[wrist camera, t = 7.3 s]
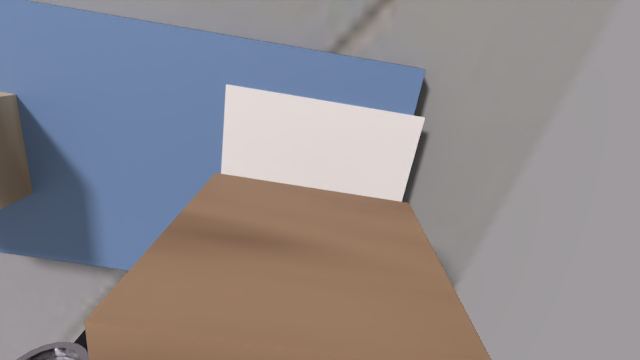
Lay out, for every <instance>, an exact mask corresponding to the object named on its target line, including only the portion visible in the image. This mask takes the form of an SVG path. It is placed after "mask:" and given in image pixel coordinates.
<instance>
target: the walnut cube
mask: <svg viewBox="0 0 640 360" xmlns="http://www.w3.org/2000/svg"><path fill="white" fill-rule="evenodd" d="M84 323H85V332H86V340H87V349H88V357H89V360H491V358H490V356H489V355H488V353H487V351H486V349H485V347H484V345H483V343H482V341H481V339H480V337H479V336H478V333H477V332H476V330H475V328H474V326H473V324H472V322H471V320H470V318H469V316H468V314H467V313H466V311H465V309H464V307H463V305H462V303H461V302H460V299H459V298H458V295H457V294H456V292H455V290H454V288H453V286H452V284H451V282H450V280H449V278H448V276H447V274H446V273H445V271H444V269H443V267H442V265H441V263H440V261H439V259H438V257H437V255H436V253H435V252H434V250H433V248H432V246H431V244H430V242H429V240H428V238H427V236H426V234H425V233H424V231H423V229H422V227H421V225H420V223H419V221H418V219H417V217H416V215H415V213H414V212H413V210H412V208H411V206H410V204H409V203H406V202H400V201H394V200H387V199H381V198H374V197H368V196H361V195H355V194H349V193H342V192H336V191H329V190H323V189H316V188H310V187H304V186H297V185H291V184H284V183H278V182H271V181H265V180H259V179H252V178H246V177H239V176H233V175H227V174H220V173H215V174H214V175H213V176H212V177H211V178H210V180H209V181H208V182H207V183H206V184H205V185H204V186H203V187H202V189H201V190H200V191H199V192H198V193H197V194H196V195H195V197H194V198H193V199H192V200H191V201H190V202H189V203H188V204H187V206H186V207H185V208H184V209H183V210H182V211H181V212H180V213H179V215H178V216H177V217H176V218H175V219H174V220H173V221H172V223H171V224H170V225H169V226H168V227H167V228H166V229H165V230H164V232H163V233H162V234H161V235H160V236H159V237H158V238H157V240H156V241H155V242H154V243H153V244H152V245H151V246H150V247H149V249H148V250H147V251H146V252H145V253H144V254H143V255H142V256H141V258H140V259H139V260H138V261H137V262H136V263H135V264H134V266H133V267H132V268H131V269H130V270H129V271H128V272H127V273H126V275H125V276H124V277H123V278H122V279H121V280H120V281H119V283H118V284H117V285H116V286H115V287H114V288H113V289H112V290H111V292H110V293H109V294H108V295H107V296H106V297H105V298H104V299H103V301H102V302H101V303H100V304H99V305H98V306H97V307H96V309H95V310H94V311H93V312H92V313H91V314H90V315H89V316H88V318H87V319H86V320H85V321H84Z"/></svg>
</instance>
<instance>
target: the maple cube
mask: <svg viewBox="0 0 640 360" xmlns="http://www.w3.org/2000/svg"><path fill="white" fill-rule="evenodd" d="M32 193H33V192H32V186H31V180H30V174H29V168H28V163H27V157H26V151H25V145H24V139H23V133H22V128H21V122H20V116H19V110H18V104H17V98H16V94H11V93H5V92H0V210H1V209H3V208H5V207H7V206H9V205H11V204H13V203H15V202H16V201H18V200H20V199H22V198H24V197H26V196H28V195H30V194H32Z"/></svg>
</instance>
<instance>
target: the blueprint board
mask: <svg viewBox="0 0 640 360" xmlns="http://www.w3.org/2000/svg"><path fill="white" fill-rule="evenodd" d="M425 71H426V70H425V69H421V68H416V67H410V66H405V65H399V64H393V63H387V62H381V61H376V60H370V59H364V58H358V57H352V56H346V55H341V54H335V53H329V52H323V51H317V50H312V49H306V48H300V47H294V46H288V45H283V44H277V43H271V42H265V41H259V40H254V39H248V38H242V37H236V36H230V35H225V34H219V33H213V32H207V31H201V30H196V29H190V28H184V27H178V26H172V25H167V24H161V23H155V22H149V21H143V20H138V19H132V18H126V17H120V16H114V15H109V14H103V13H97V12H91V11H85V10H80V9H74V8H68V7H62V6H56V5H51V4H45V3H39V2H33V1H27V0H0V92H5V93H11V94H16V98H17V104H18V110H19V116H20V122H21V128H22V133H23V139H24V145H25V151H26V157H27V163H28V168H29V174H30V180H31V186H32V192H33V193H32V194H30V195H28V196H26V197H24V198H22V199H20V200H18V201H16V202H15V203H13V204H11V205H9V206H7V207H5V208H3V209H1V210H0V252H4V253H11V254H18V255H24V256H31V257H38V258H45V259H52V260H59V261H66V262H73V263H80V264H87V265H94V266H100V267H107V268H114V269H121V270H128V271H129V270H130V269H131V268H132V267H133V266H134V264H135V263H136V262H137V261H138V260H139V259H140V258H141V256H142V255H143V254H144V253H145V252H146V251H147V250H148V249H149V247H150V246H151V245H152V244H153V243H154V242H155V241H156V240H157V238H158V237H159V236H160V235H161V234H162V233H163V232H164V230H165V229H166V228H167V227H168V226H169V225H170V224H171V223H172V221H173V220H174V219H175V218H176V217H177V216H178V215H179V213H180V212H181V211H182V210H183V209H184V208H185V207H186V206H187V204H188V203H189V202H190V201H191V200H192V199H193V198H194V197H195V195H196V194H197V193H198V192H199V191H200V190H201V189H202V187H203V186H204V185H205V184H206V183H207V182H208V181H209V180H210V178H211V177H212V176H213V175H214V174H215V173H220V174H227V175H233V176H239V177H246V178H252V179H259V180H265V181H271V182H278V183H284V184H291V185H297V186H304V187H310V188H316V189H323V190H329V191H336V192H342V193H349V194H355V195H361V196H368V197H374V198H381V199H387V200H394V201H400V202H402V199H403V195H404V192H405V188H406V184H407V181H408V177H409V174H410V170H411V166H412V163H413V159H414V156H415V152H416V149H417V145H418V141H419V138H420V134H421V131H422V127H423V123H424V120H425V117H420V116H414V112H415V109H416V105H417V101H418V97H419V94H420V90H421V86H422V82H423V78H424V75H425Z"/></svg>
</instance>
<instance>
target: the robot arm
mask: <svg viewBox="0 0 640 360" xmlns="http://www.w3.org/2000/svg"><path fill="white" fill-rule="evenodd" d="M17 360H89V357H88V349H87V340H86V332H85V330H84V332H83V333H82V334H81V335H80V336H79V337H78V339H77V340H76V341H75V342H74V343H71V342H56V343H52V344H48V345H44V346H41V347H39V348H36V349H34V350H32V351H29V352H28V353H26V354H25V355H23V356H21V357H20V358H18V359H17Z"/></svg>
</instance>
